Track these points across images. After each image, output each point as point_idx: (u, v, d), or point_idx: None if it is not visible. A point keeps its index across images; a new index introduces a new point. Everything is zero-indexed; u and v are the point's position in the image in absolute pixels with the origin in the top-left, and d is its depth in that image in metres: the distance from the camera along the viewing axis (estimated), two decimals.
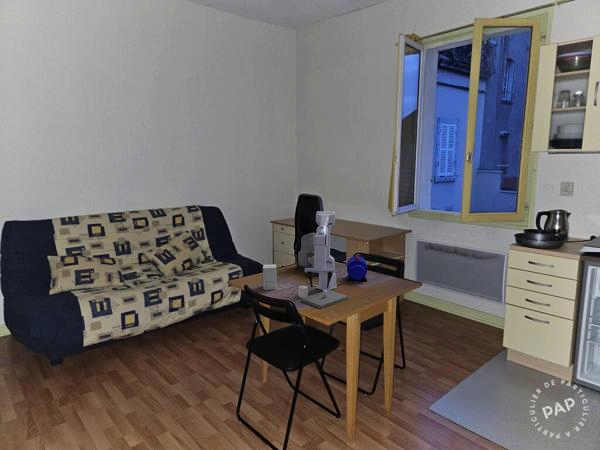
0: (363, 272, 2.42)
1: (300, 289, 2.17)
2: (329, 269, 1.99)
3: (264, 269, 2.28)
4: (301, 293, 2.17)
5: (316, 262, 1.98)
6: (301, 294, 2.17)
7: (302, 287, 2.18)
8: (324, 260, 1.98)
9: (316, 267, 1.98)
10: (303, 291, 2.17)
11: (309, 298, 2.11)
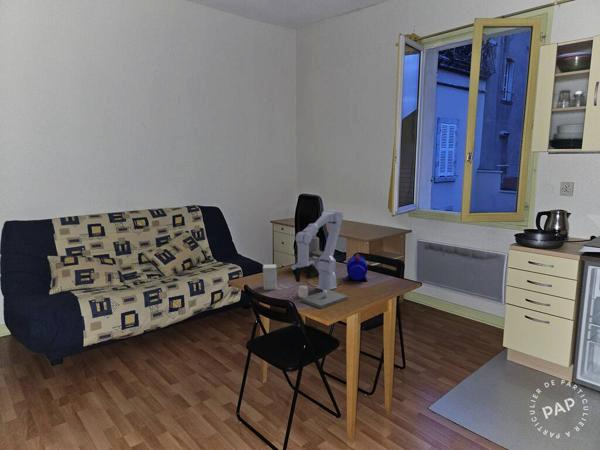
0: (363, 272, 2.42)
1: (300, 289, 2.17)
2: (311, 262, 2.19)
3: (264, 269, 2.28)
4: (301, 293, 2.17)
5: (303, 258, 2.13)
6: (301, 294, 2.17)
7: (302, 287, 2.18)
8: (308, 255, 2.16)
9: (303, 263, 2.14)
10: (303, 291, 2.17)
11: (309, 298, 2.11)
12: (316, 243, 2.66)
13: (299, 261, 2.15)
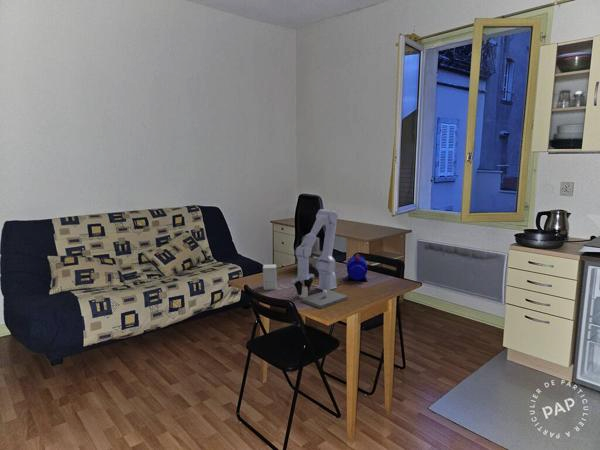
0: (363, 272, 2.43)
1: None
2: (311, 275, 2.20)
3: (264, 269, 2.28)
4: None
5: (303, 272, 2.15)
6: (301, 294, 2.17)
7: (302, 287, 2.18)
8: None
9: (303, 276, 2.15)
10: (303, 291, 2.17)
11: (309, 298, 2.11)
12: (316, 243, 2.66)
13: (299, 275, 2.16)
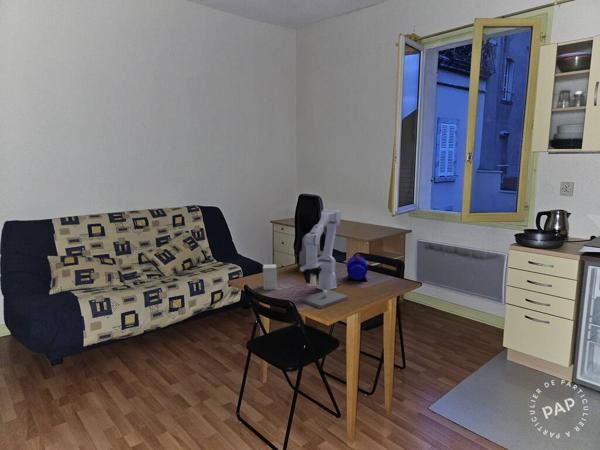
0: (363, 272, 2.43)
1: None
2: (320, 264, 2.16)
3: (264, 269, 2.28)
4: None
5: (312, 260, 2.11)
6: None
7: None
8: None
9: (312, 265, 2.12)
10: (312, 280, 2.13)
11: (309, 298, 2.11)
12: None
13: (307, 263, 2.12)
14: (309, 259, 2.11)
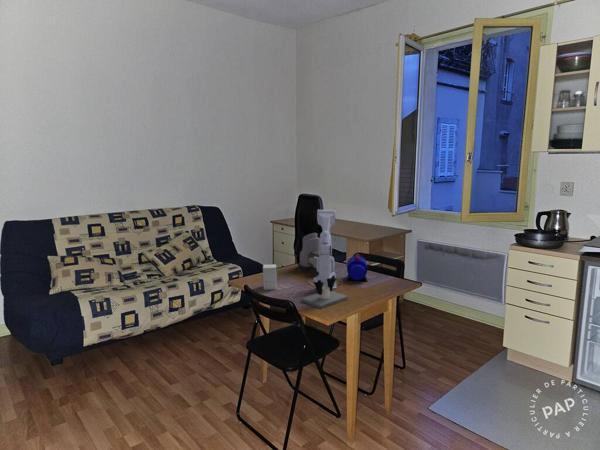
0: (363, 272, 2.43)
1: (322, 290, 2.11)
2: (333, 274, 2.13)
3: (264, 269, 2.28)
4: (323, 294, 2.11)
5: (325, 271, 2.08)
6: (323, 295, 2.11)
7: (324, 288, 2.12)
8: (330, 267, 2.11)
9: (326, 275, 2.09)
10: (325, 292, 2.11)
11: (309, 298, 2.11)
12: (317, 243, 2.66)
13: (321, 273, 2.09)
14: (323, 270, 2.08)
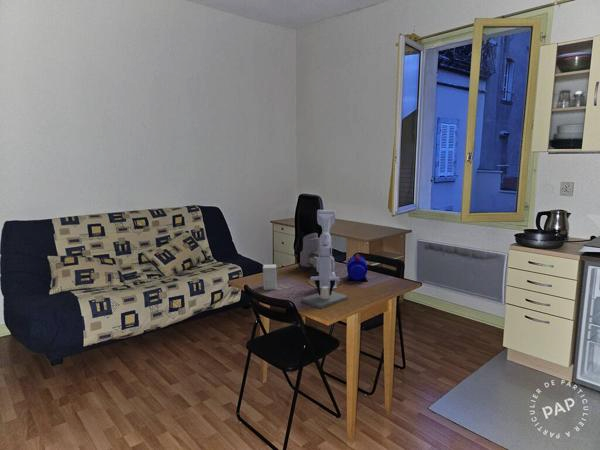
0: (363, 272, 2.43)
1: (322, 290, 2.11)
2: (334, 278, 2.10)
3: (264, 269, 2.28)
4: (323, 294, 2.11)
5: (321, 272, 2.09)
6: (323, 295, 2.11)
7: (324, 288, 2.12)
8: (329, 270, 2.09)
9: (321, 277, 2.09)
10: (325, 292, 2.11)
11: (309, 298, 2.11)
12: (317, 243, 2.66)
13: (319, 274, 2.11)
14: (319, 271, 2.10)
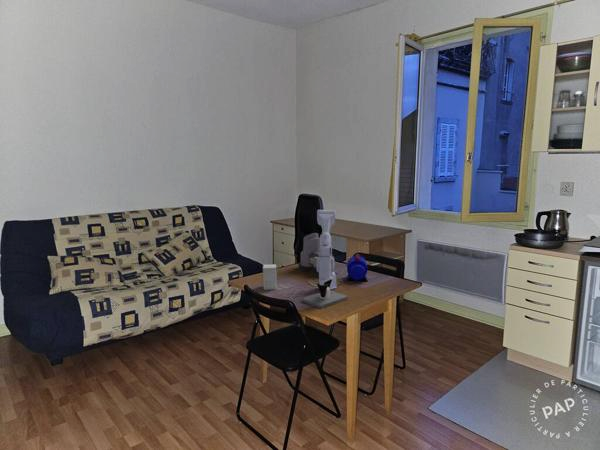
0: (363, 272, 2.43)
1: (326, 290, 2.11)
2: None
3: (264, 269, 2.28)
4: (327, 294, 2.11)
5: (328, 272, 2.09)
6: (327, 295, 2.11)
7: None
8: None
9: (328, 277, 2.09)
10: (329, 292, 2.12)
11: (309, 298, 2.11)
12: (318, 243, 2.65)
13: (324, 276, 2.09)
14: (326, 272, 2.08)
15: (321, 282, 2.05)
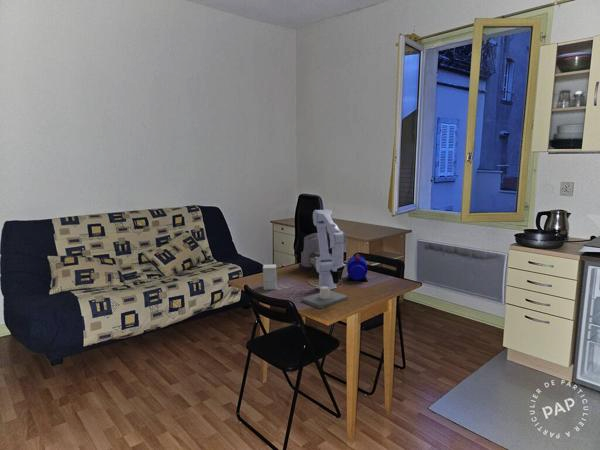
0: (363, 272, 2.43)
1: (326, 290, 2.11)
2: None
3: (264, 269, 2.28)
4: (327, 294, 2.11)
5: (341, 259, 2.10)
6: (327, 295, 2.11)
7: (325, 288, 2.12)
8: None
9: (341, 263, 2.10)
10: (329, 292, 2.12)
11: (309, 298, 2.11)
12: (318, 243, 2.65)
13: (336, 262, 2.10)
14: (338, 258, 2.09)
15: (334, 268, 2.06)
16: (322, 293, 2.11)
